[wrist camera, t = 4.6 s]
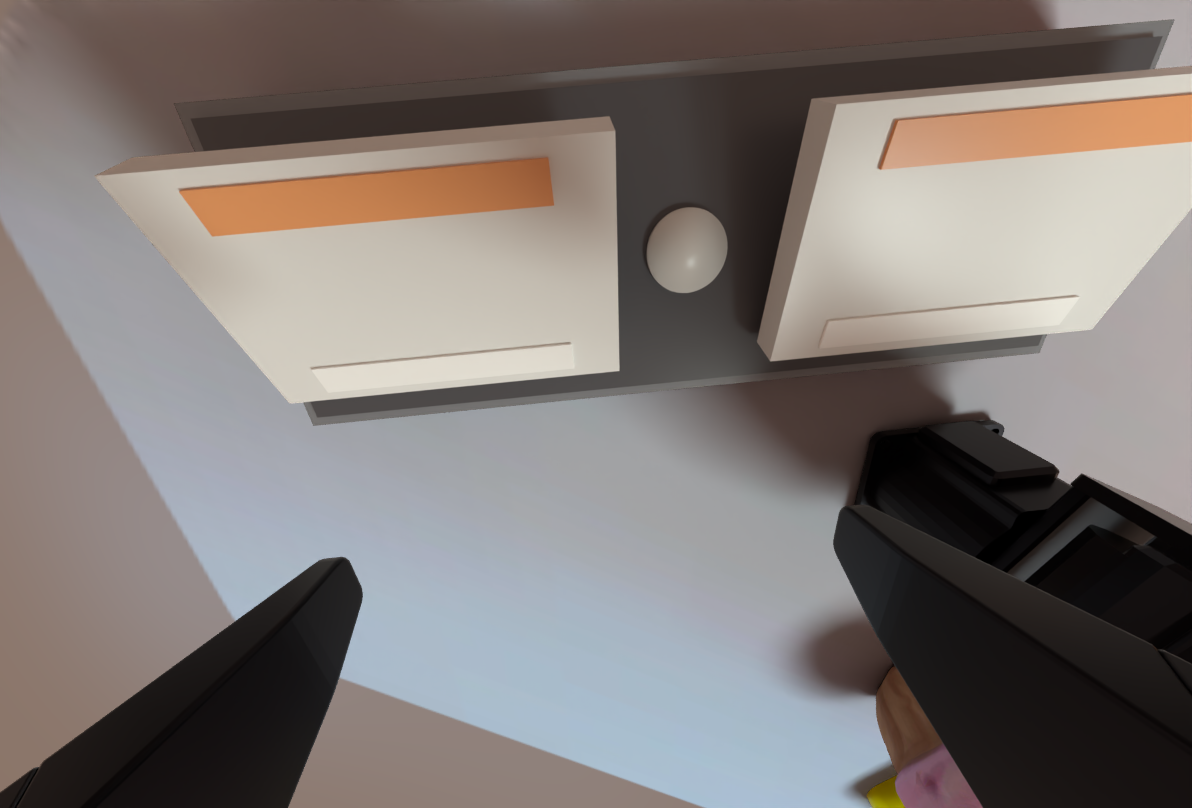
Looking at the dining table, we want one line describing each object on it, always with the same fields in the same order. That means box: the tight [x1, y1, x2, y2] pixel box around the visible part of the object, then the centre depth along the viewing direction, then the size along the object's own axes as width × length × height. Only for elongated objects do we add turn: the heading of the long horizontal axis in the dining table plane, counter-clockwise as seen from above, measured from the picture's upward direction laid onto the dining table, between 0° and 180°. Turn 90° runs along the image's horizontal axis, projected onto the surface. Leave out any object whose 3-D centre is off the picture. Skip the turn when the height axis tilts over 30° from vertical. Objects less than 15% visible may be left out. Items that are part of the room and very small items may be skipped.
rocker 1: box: [94, 116, 619, 404], centre depth 12 cm, size 7×11×1 cm, turn 95°
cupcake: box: [876, 666, 983, 808], centre depth 27 cm, size 9×9×10 cm
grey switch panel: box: [174, 19, 1175, 426], centre depth 15 cm, size 10×28×3 cm, turn 95°
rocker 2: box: [757, 66, 1192, 361], centre depth 12 cm, size 7×11×1 cm, turn 95°
